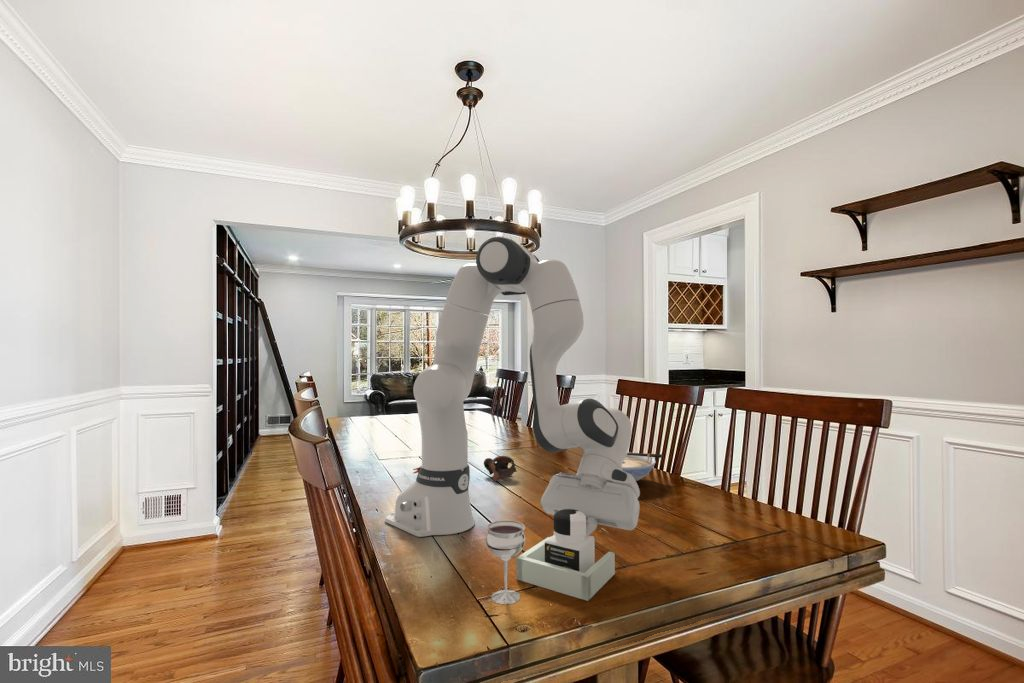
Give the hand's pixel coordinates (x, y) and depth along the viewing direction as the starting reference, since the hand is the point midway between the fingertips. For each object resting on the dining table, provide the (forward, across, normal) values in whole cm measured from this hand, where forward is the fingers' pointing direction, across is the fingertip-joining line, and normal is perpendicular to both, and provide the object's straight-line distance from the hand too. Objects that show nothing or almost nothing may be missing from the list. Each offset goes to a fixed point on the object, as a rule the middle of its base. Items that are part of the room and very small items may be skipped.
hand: (577, 539), depth 97 cm
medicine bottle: (+7, 0, +1) cm, 7 cm away
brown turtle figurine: (-29, -50, +37) cm, 69 cm away
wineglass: (+16, -5, -8) cm, 19 cm away
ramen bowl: (-40, -16, +48) cm, 65 cm away
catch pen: (+7, 0, 0) cm, 7 cm away
